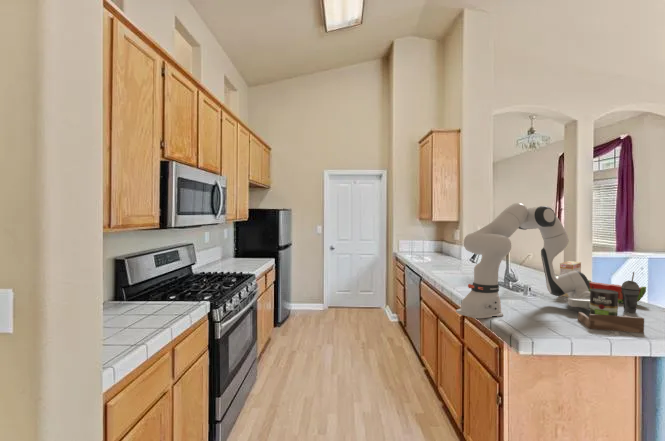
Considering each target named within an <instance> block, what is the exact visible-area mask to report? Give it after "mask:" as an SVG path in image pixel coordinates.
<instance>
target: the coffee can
mask: <svg viewBox="0 0 665 441" xmlns="http://www.w3.org/2000/svg"><path fill="white" fill-rule="evenodd" d="M618 309H619V303H618V292H616V291H613V290H607V289H590V310H589V314H599V315H613V316H619V315H618V314H619V313H618Z"/></svg>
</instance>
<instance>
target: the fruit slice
mask: <svg viewBox="0 0 665 441" xmlns="http://www.w3.org/2000/svg"><path fill="white" fill-rule="evenodd" d="M588 281H589V284H590V289H607V290H613V291H616V292H618V304H623V295H622V289H621V287H622V284H621V285H620V284H613V283H610V284H609V283H602V282H595V281H591V280H589V279H588ZM590 289H589V290H588V291H589V292H590ZM639 289H640V290H639V294H638V300H637V303H638V302H639V301H641V299H642V298H643V297H644V296H645V294H646V292H647V286H639Z"/></svg>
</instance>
